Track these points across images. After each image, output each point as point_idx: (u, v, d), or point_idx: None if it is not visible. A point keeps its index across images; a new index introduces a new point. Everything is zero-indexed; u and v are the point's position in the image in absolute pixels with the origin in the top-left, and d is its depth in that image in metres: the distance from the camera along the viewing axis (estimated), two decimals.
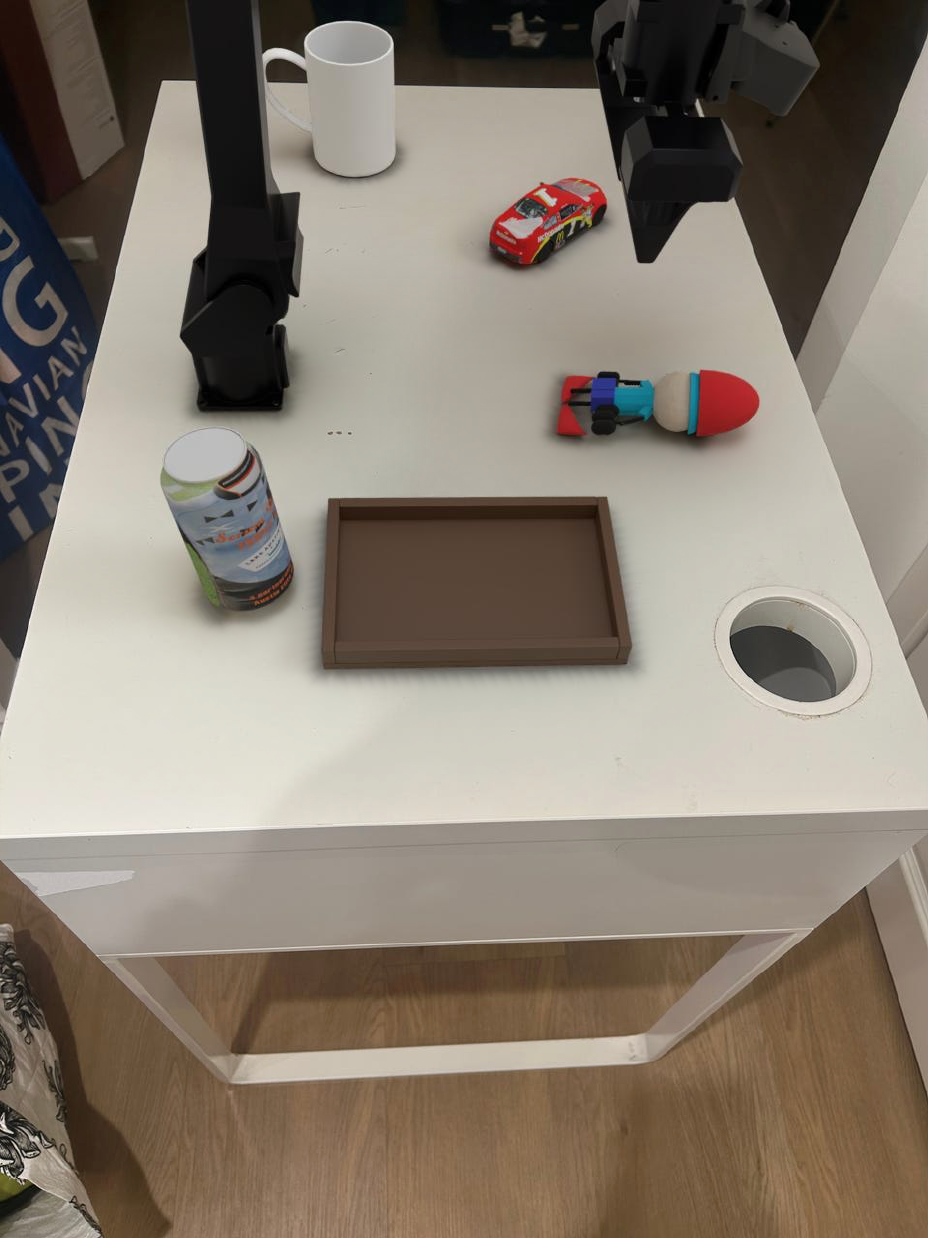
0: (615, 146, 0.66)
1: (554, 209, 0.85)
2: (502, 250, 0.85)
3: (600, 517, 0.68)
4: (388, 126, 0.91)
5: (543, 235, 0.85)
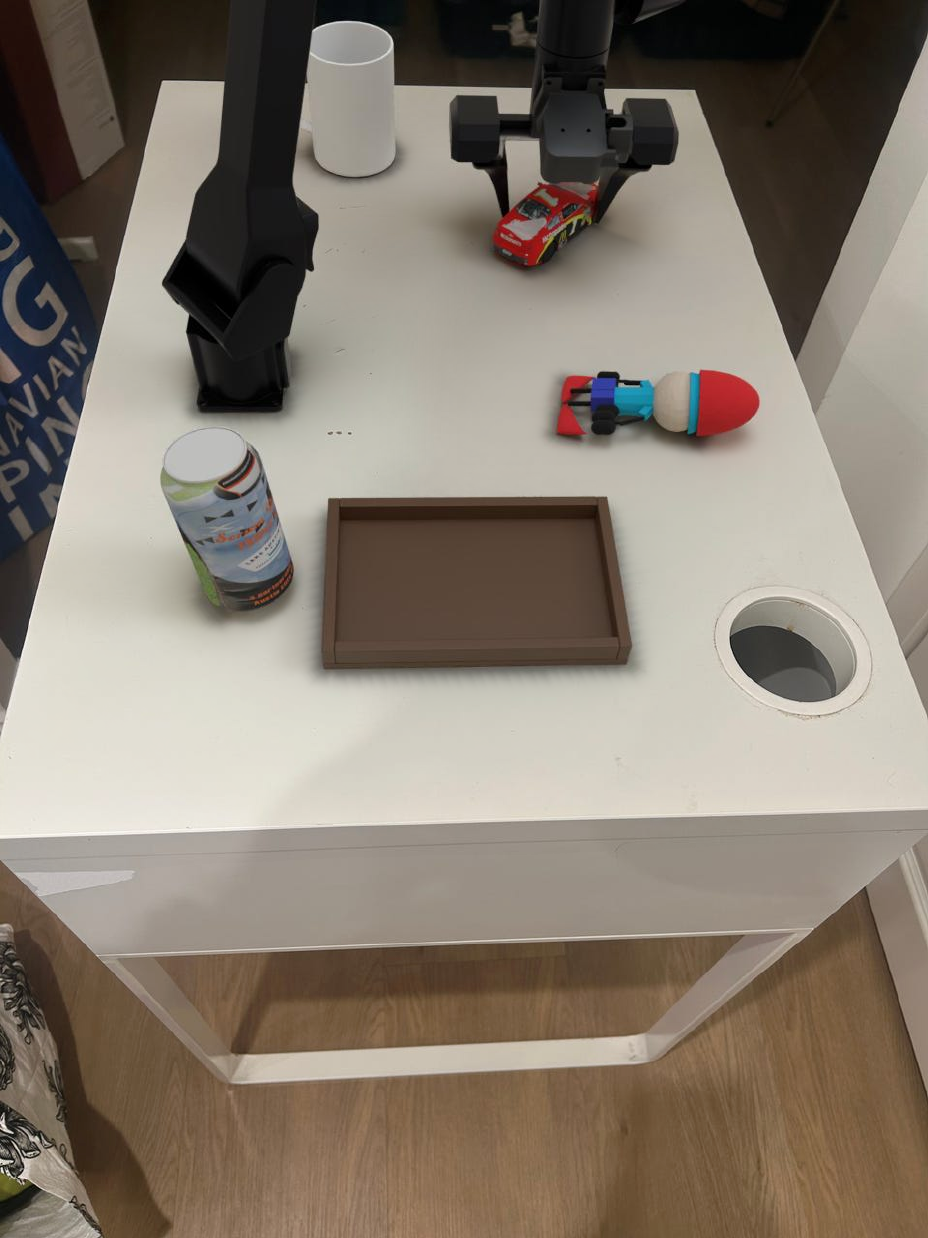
0: (597, 188, 0.87)
1: (556, 209, 0.85)
2: (507, 252, 0.85)
3: (600, 517, 0.68)
4: (388, 126, 0.91)
5: (547, 235, 0.85)
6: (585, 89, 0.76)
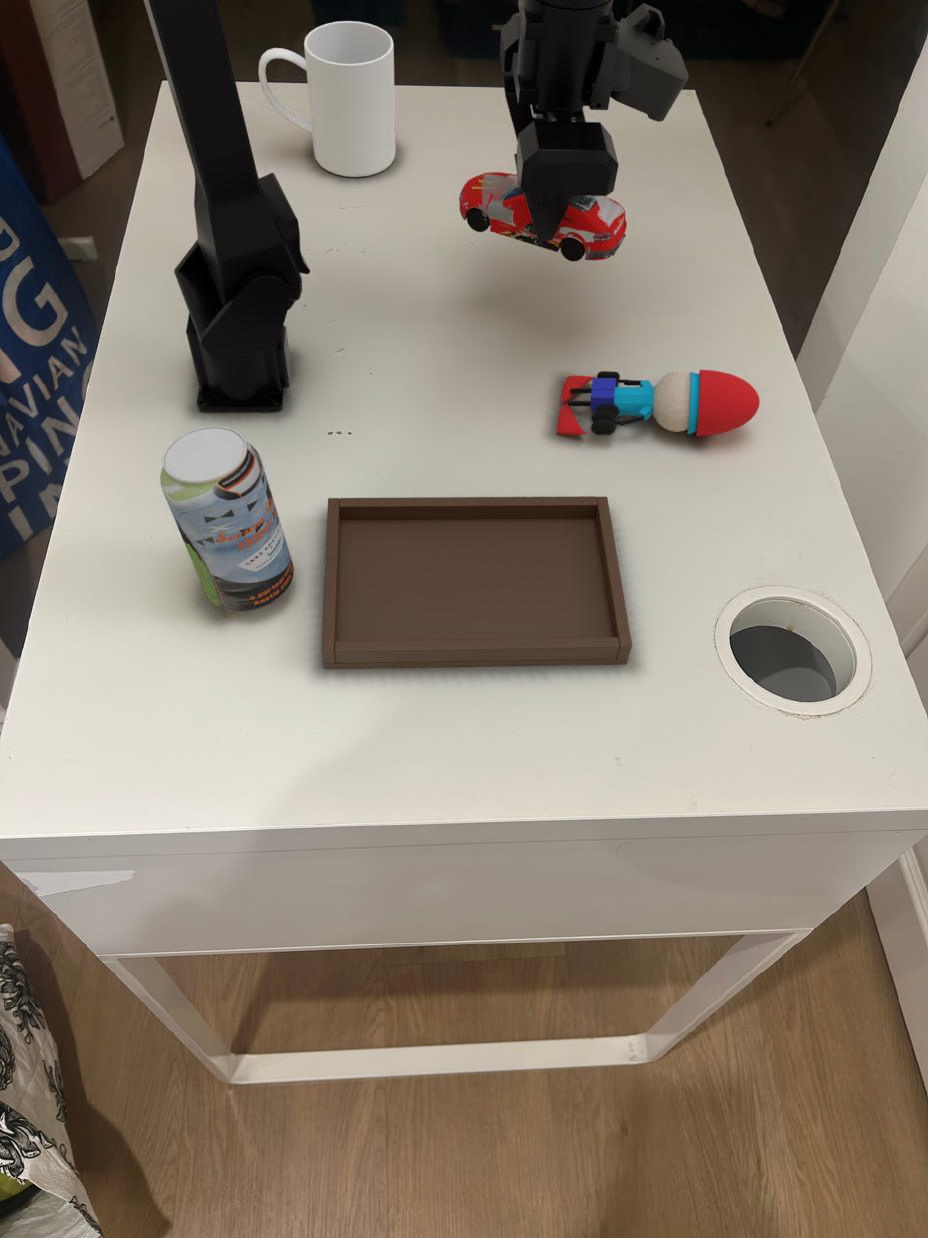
0: None
1: None
2: (621, 240, 0.73)
3: (600, 517, 0.68)
4: (388, 126, 0.91)
5: None
6: None
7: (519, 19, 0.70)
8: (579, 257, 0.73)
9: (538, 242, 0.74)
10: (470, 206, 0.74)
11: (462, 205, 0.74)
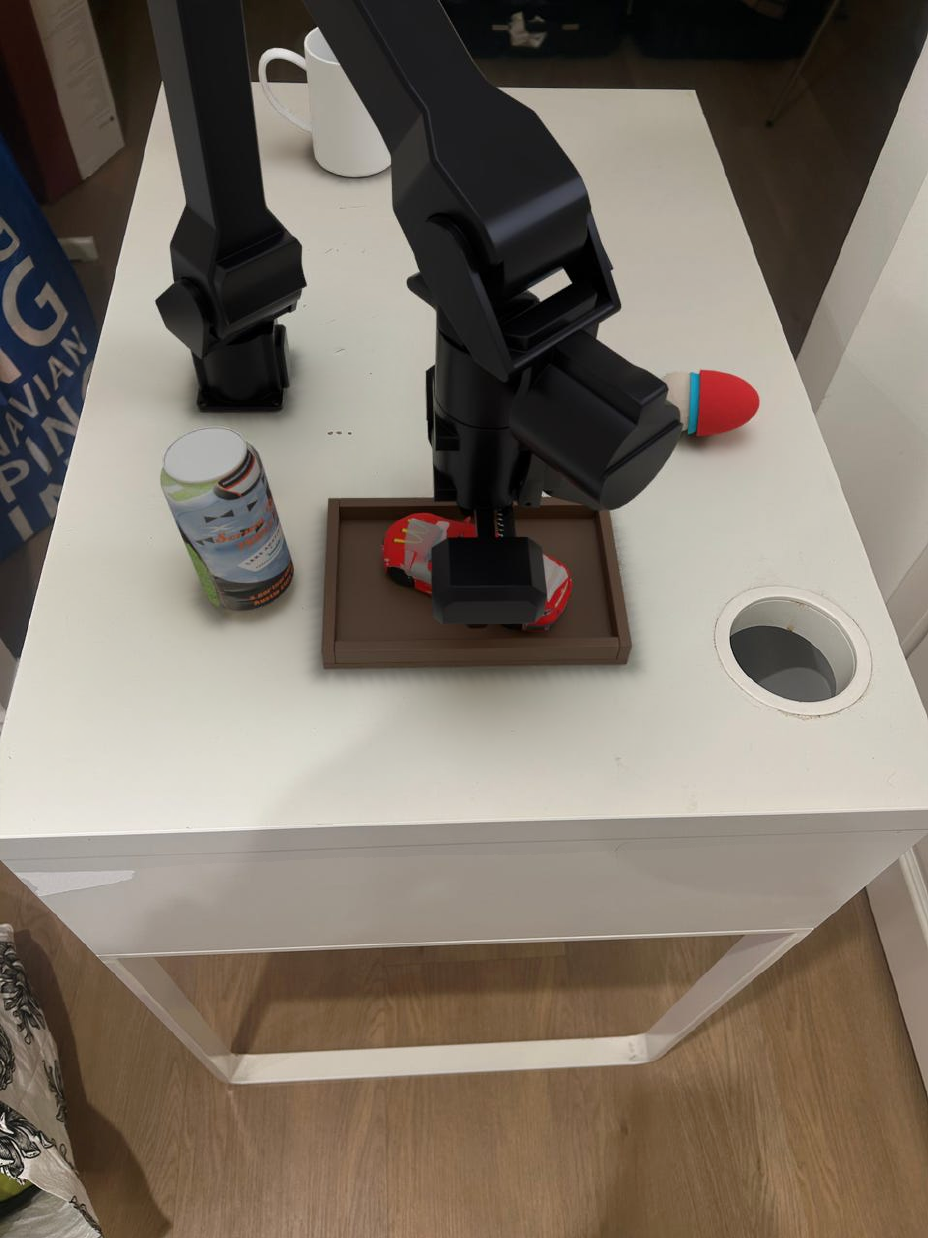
0: None
1: None
2: (564, 606, 0.63)
3: (600, 517, 0.68)
4: None
5: None
6: None
7: None
8: (516, 627, 0.63)
9: None
10: (391, 564, 0.64)
11: (383, 559, 0.65)
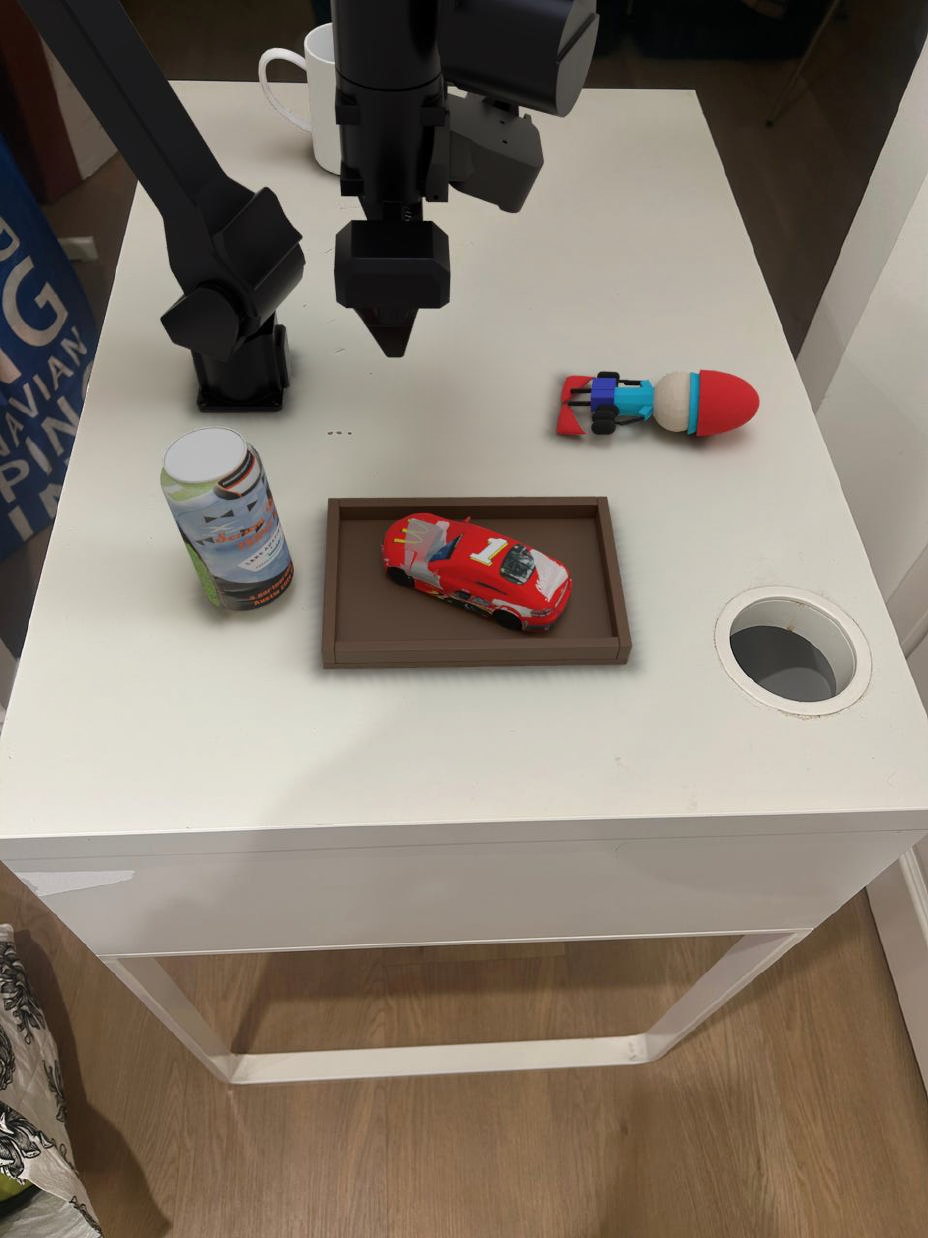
0: None
1: (509, 538, 0.63)
2: (564, 606, 0.63)
3: (600, 517, 0.68)
4: None
5: None
6: (443, 97, 0.54)
7: None
8: (516, 627, 0.63)
9: (469, 607, 0.64)
10: (391, 564, 0.64)
11: (383, 559, 0.65)
